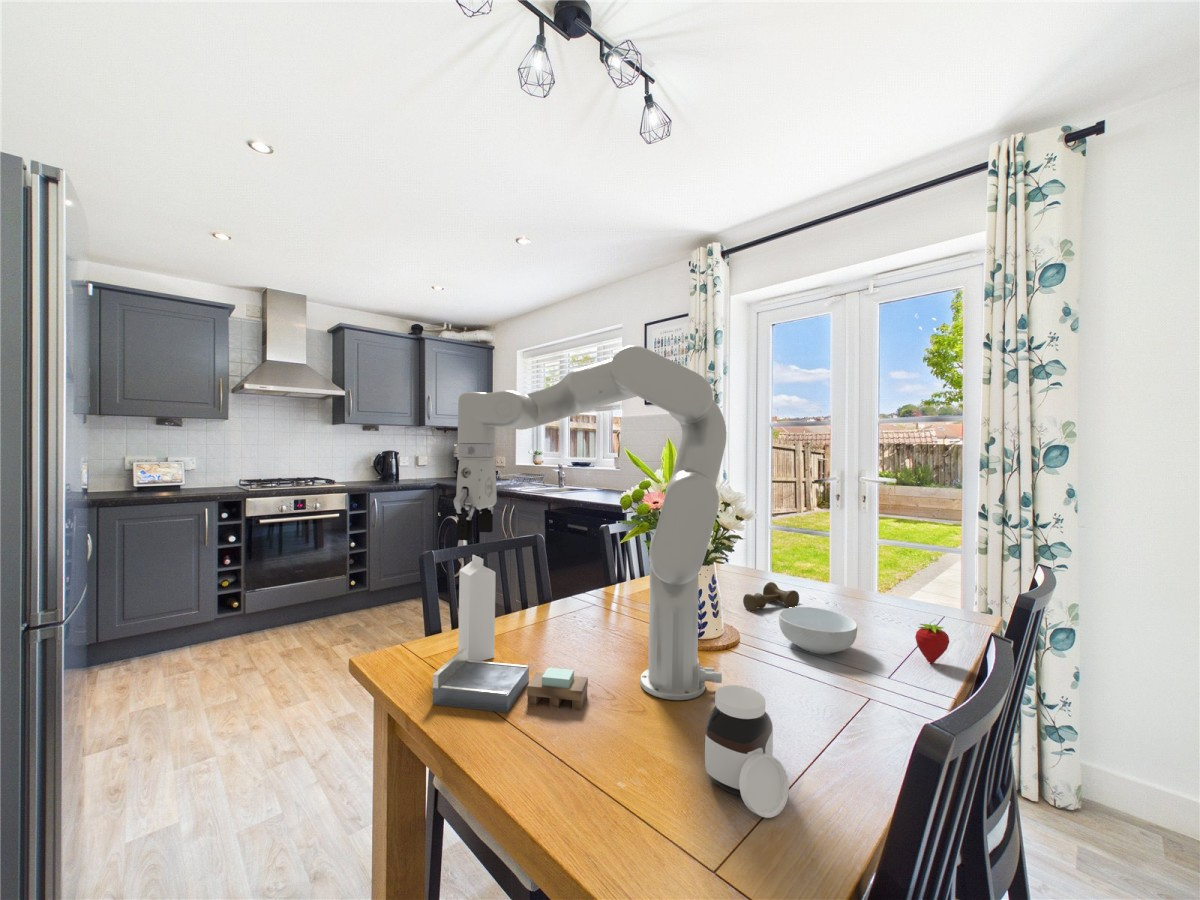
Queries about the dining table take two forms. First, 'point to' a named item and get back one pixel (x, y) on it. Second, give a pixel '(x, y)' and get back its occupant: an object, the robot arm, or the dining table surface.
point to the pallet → (558, 692)
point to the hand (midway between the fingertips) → (475, 535)
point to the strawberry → (932, 641)
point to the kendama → (770, 597)
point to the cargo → (558, 677)
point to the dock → (478, 684)
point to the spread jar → (745, 751)
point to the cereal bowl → (817, 629)
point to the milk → (477, 610)
